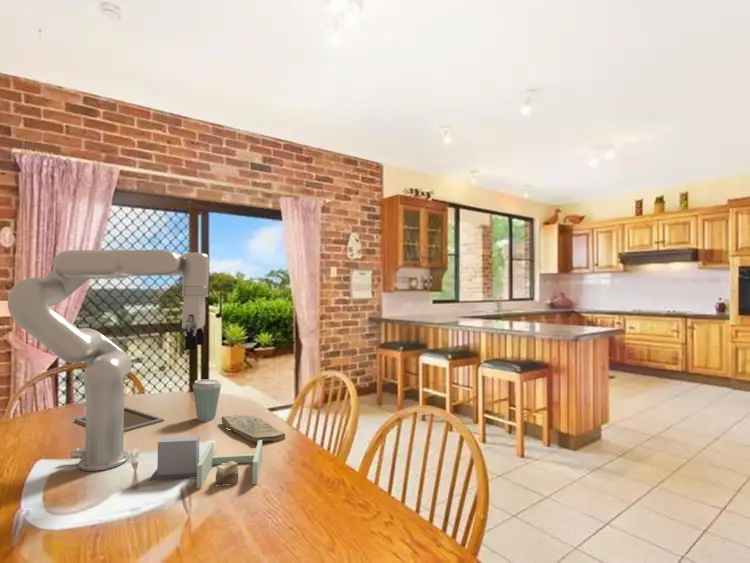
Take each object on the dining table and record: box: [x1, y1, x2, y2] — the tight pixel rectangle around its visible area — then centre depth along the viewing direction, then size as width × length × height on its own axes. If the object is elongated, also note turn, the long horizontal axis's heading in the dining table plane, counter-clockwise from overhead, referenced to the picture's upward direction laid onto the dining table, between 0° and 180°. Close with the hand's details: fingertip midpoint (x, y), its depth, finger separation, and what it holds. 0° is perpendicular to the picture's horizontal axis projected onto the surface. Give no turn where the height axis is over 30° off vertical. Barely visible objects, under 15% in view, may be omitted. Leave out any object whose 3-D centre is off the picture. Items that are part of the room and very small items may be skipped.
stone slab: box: [220, 414, 286, 444], centre depth 153 cm, size 12×4×30 cm
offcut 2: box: [215, 467, 239, 486], centre depth 113 cm, size 6×3×3 cm, turn 107°
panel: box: [148, 468, 197, 482], centre depth 118 cm, size 13×7×1 cm, turn 100°
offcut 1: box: [216, 461, 239, 476], centre depth 113 cm, size 4×3×2 cm, turn 143°
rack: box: [196, 440, 263, 489], centre depth 119 cm, size 15×16×6 cm
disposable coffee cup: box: [192, 379, 222, 422], centre depth 166 cm, size 11×11×15 cm
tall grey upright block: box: [156, 435, 200, 475], centre depth 118 cm, size 10×4×9 cm, turn 100°
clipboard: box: [74, 406, 165, 433], centre depth 162 cm, size 19×2×30 cm
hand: (194, 346), depth 132 cm, fingers open, 9 cm apart
